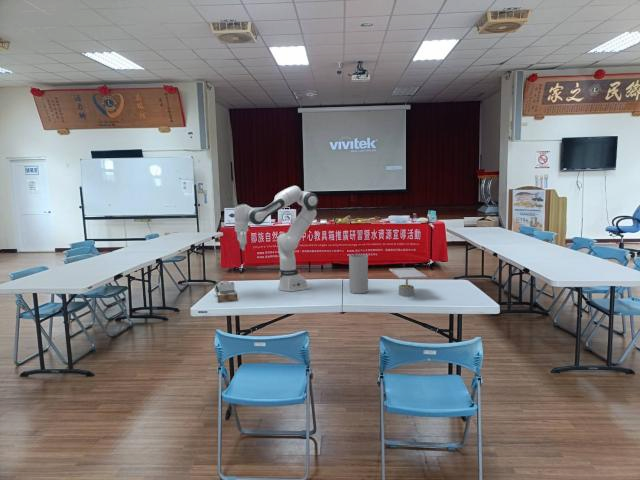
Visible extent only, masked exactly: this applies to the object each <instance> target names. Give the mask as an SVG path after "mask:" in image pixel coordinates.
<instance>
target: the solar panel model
mask: <svg viewBox="0 0 640 480" xmlns="http://www.w3.org/2000/svg"><path fill="white" fill-rule="evenodd" d="M388 271H390V272H391V273H392V274H393V275H395V276H396V277H397V278H399V279H400V280H401V279H403V280H404V279H405V284H399V285H398V295H399V296H401V297H405V298H410V297H413V296H414V295H415V292H414V291H415V286H414V285H411V284H409V279H423V278H424V279H426V278H428V276H427V275H426V274H424V273H422V272H421V271H420V270H417V269H416V268H414V267H403V268H402V267H401V268H399V267H398V268H388Z"/></svg>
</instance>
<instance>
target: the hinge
mask: <svg viewBox="0 0 640 480" xmlns="http://www.w3.org/2000/svg"><path fill="white" fill-rule="evenodd" d="M229 282H230V281H228V280H222V281H219V282H218V283H216V284H215V286H214V291H215V295H216V296H217V292H220V286H219V283H229Z"/></svg>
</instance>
